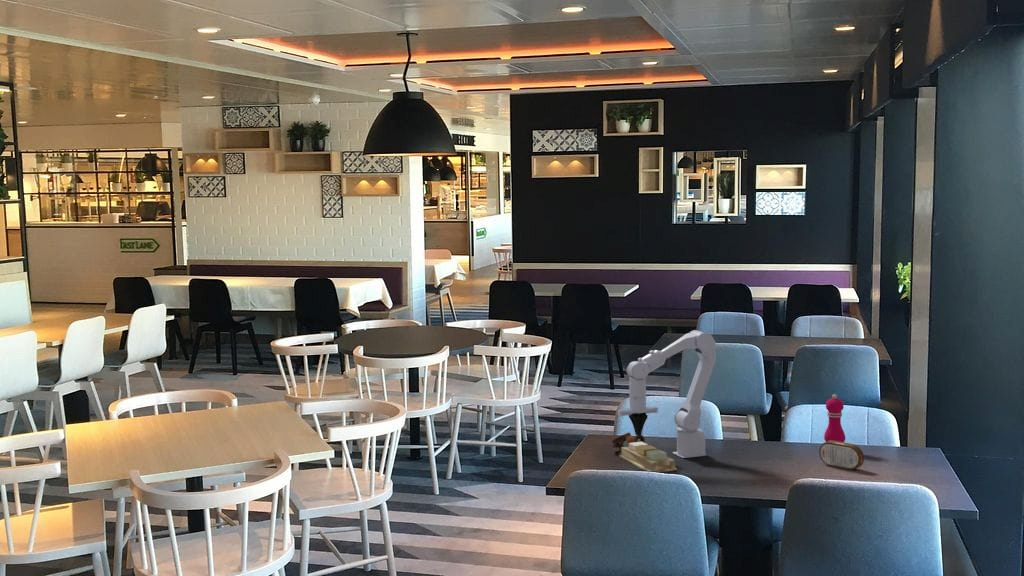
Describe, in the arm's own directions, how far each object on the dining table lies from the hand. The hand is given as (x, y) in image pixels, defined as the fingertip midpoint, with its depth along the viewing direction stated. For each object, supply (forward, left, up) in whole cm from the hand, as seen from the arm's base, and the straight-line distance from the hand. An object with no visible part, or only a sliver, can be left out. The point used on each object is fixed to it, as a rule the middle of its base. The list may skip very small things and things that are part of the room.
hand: (638, 434), depth 347 cm
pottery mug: (-1, -10, -9) cm, 13 cm away
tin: (-56, +37, -9) cm, 68 cm away
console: (0, +7, -9) cm, 11 cm away
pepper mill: (-69, +16, -9) cm, 71 cm away
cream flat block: (0, +7, -6) cm, 9 cm away
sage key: (0, +14, -6) cm, 15 cm away
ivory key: (0, 0, -6) cm, 6 cm away
